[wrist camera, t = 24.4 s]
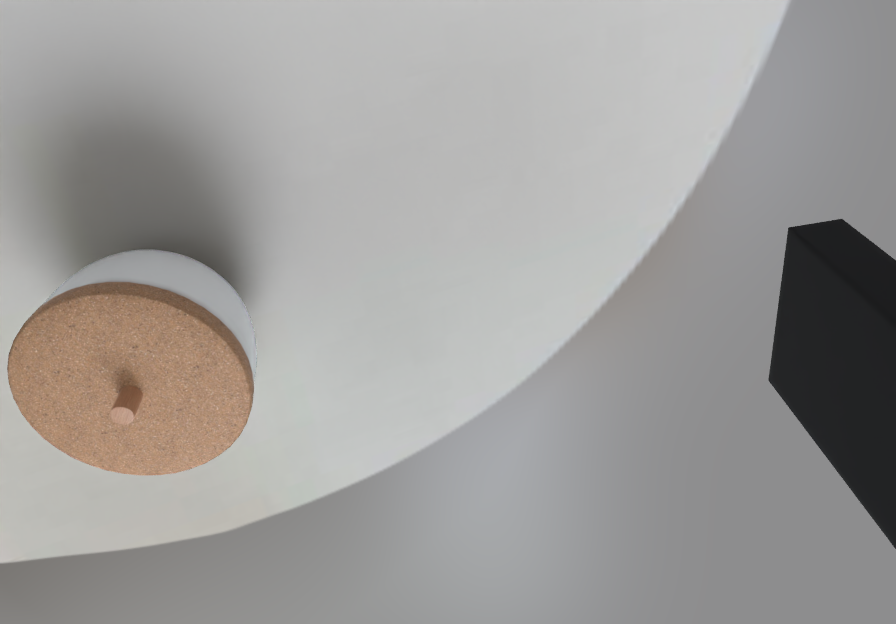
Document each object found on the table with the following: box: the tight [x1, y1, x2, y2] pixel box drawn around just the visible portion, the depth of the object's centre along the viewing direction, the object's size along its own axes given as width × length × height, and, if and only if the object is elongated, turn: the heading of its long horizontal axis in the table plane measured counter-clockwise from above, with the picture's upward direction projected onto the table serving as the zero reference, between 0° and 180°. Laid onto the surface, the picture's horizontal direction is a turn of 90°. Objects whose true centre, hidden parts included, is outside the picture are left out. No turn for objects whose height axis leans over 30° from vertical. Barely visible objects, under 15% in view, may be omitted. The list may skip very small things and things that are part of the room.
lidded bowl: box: [7, 249, 257, 475], centre depth 42 cm, size 13×13×11 cm
